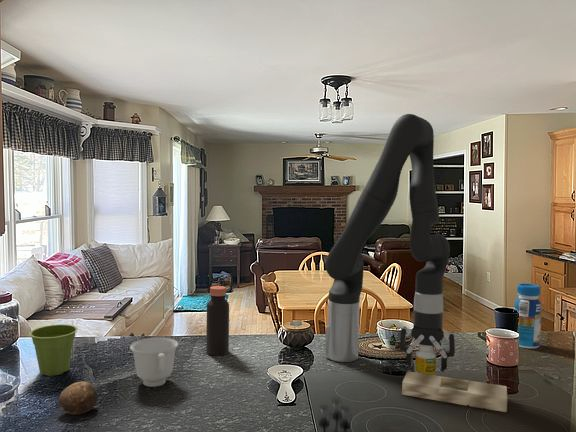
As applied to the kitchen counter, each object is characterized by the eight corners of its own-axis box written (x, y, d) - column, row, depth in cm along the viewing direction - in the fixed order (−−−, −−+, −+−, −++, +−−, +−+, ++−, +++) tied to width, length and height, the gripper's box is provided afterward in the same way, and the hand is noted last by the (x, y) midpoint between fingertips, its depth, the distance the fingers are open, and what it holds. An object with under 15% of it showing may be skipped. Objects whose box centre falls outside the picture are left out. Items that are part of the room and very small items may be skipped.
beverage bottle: (506, 341, 172) (509, 282, 171) (530, 340, 173) (533, 282, 172) (520, 349, 164) (524, 287, 163) (545, 349, 165) (548, 287, 164)
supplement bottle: (424, 373, 142) (425, 339, 141) (439, 380, 137) (441, 345, 137) (410, 377, 139) (411, 342, 138) (425, 384, 134) (427, 348, 134)
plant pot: (22, 371, 138) (22, 330, 137) (66, 360, 147) (66, 321, 146) (40, 383, 130) (39, 340, 129) (85, 371, 139) (85, 330, 138)
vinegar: (233, 351, 157) (234, 287, 156) (218, 357, 151) (219, 290, 150) (216, 347, 161) (216, 284, 159) (201, 353, 155) (202, 287, 154)
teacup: (137, 399, 122) (137, 358, 121) (126, 378, 135) (126, 340, 134) (187, 391, 127) (187, 351, 126) (171, 370, 140) (171, 335, 140)
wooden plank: (401, 394, 127) (402, 381, 127) (407, 382, 135) (407, 371, 135) (506, 412, 119) (507, 398, 118) (505, 398, 126) (506, 386, 126)
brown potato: (68, 386, 121) (72, 370, 117) (100, 398, 121) (105, 383, 118) (50, 415, 114) (54, 399, 111) (84, 428, 115) (89, 412, 111)
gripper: (399, 309, 136) (397, 369, 137) (455, 315, 131) (453, 377, 132) (403, 303, 143) (401, 360, 144) (457, 308, 138) (455, 367, 139)
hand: (426, 368), depth 138 cm, fingers open, 8 cm apart
